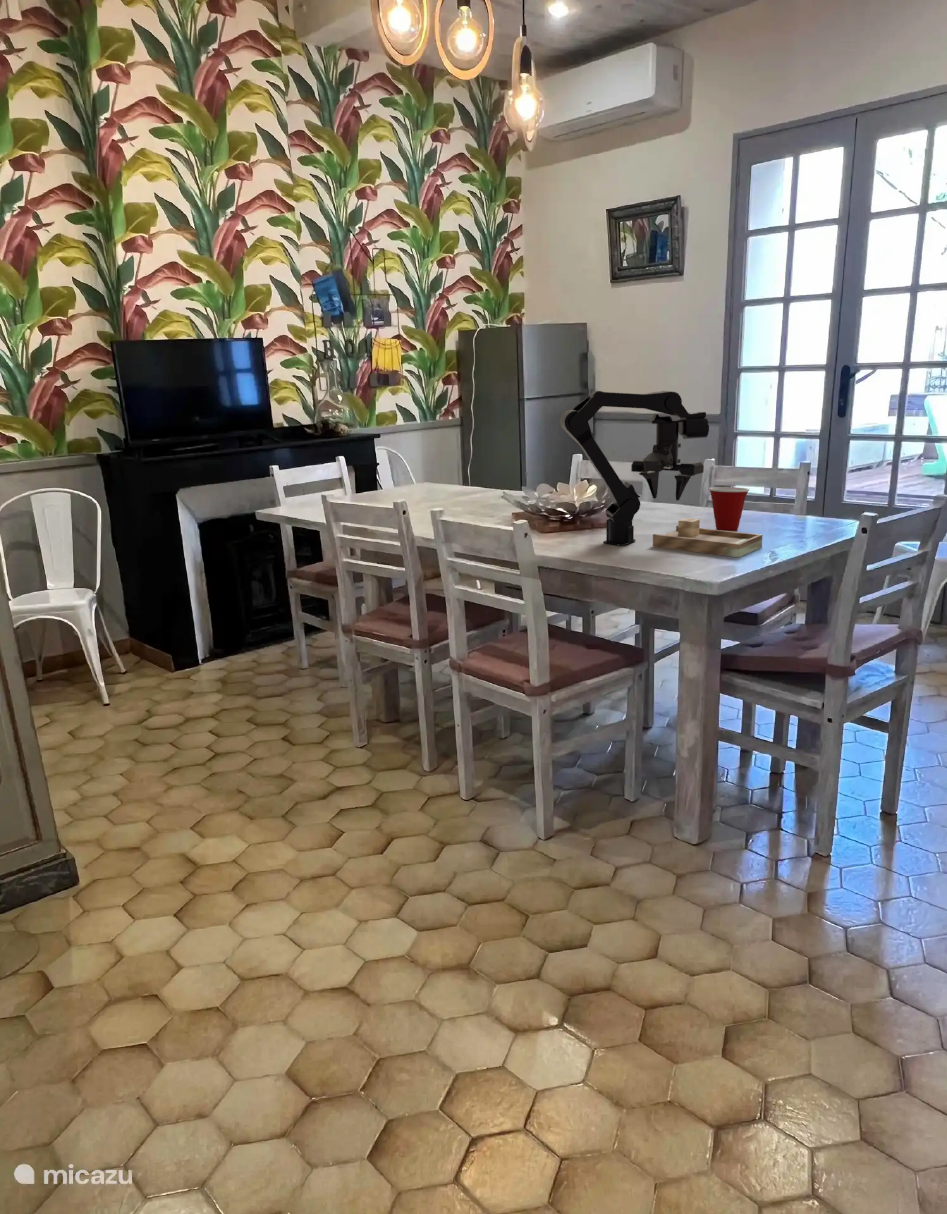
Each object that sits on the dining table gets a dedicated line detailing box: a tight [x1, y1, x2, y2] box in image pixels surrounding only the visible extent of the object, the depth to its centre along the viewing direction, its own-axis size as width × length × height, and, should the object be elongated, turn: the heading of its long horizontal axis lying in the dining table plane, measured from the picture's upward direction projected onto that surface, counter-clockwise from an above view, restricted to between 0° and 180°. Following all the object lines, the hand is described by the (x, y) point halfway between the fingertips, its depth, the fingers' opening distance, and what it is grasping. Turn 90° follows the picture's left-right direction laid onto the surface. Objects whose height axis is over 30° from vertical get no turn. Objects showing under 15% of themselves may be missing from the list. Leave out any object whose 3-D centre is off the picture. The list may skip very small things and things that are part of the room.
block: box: [677, 517, 701, 537], centre depth 220 cm, size 4×4×4 cm
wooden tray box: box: [652, 525, 763, 558], centre depth 215 cm, size 24×13×3 cm, turn 48°
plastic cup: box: [708, 486, 750, 532], centre depth 232 cm, size 11×11×12 cm
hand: (666, 499), depth 223 cm, fingers open, 7 cm apart
